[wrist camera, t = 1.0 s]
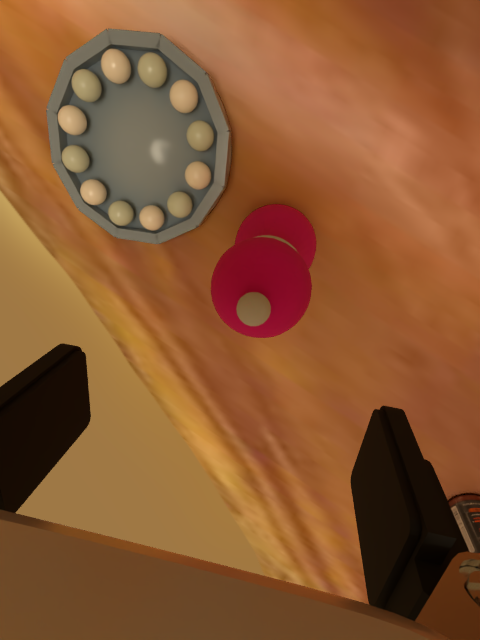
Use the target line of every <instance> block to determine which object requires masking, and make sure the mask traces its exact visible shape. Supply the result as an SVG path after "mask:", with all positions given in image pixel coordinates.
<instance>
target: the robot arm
mask: <svg viewBox="0 0 480 640" xmlns="http://www.w3.org/2000/svg"><path fill="white" fill-rule="evenodd" d="M90 417H91V414H90V402H89V391H88V377H87V365H86V355H85V353H84V352H82V350H81V348H80V347H78V346H73V345H67V344H60V345H58V346H56V347H55V348H54V349H52V350H51V351H49V352H48V353H47V354H45V355H44V356H42V357H41V358H40V359H38V360H37V361H36V362H34V363H33V364H32V365H30V366H29V367H27V368H26V369H24V370H23V371H22V372H21V373H19V374H18V375H16V376H15V377H13V378H12V379H11V380H9V381H8V382H7V383H5V384H4V385H2V386H1V387H0V640H480V554H478V553H472V552H470V551H469V549H468V547H467V544H466V542H465V540H464V537H463V535H462V533H461V531H460V528H459V526H458V524H457V521H456V519H455V517H454V514H453V512H452V510H451V507H450V505H449V503H448V501H447V498H446V496H445V494H444V491H443V489H442V487H441V484H440V482H439V480H438V478H437V475H436V473H435V471H434V468H433V466H432V465H431V463H430V462H429V461H428V460H424V458H423V456H422V453H421V451H420V449H419V446H418V444H417V441H416V439H415V436H414V434H413V432H412V429H411V427H410V424H409V422H408V420H407V417H406V415H405V412H404V411H403V410H402V409H398V408H393V407H388V406H382V407H381V408H380V410H378V409H375V410H374V411H373V413H372V416H371V419H370V422H369V425H368V428H367V431H366V433H365V436H364V439H363V442H362V445H361V448H360V451H359V454H358V456H357V459H356V462H355V465H354V468H353V471H352V474H351V489H352V495H353V502H354V509H355V515H356V522H357V529H358V535H359V542H360V549H361V555H362V562H363V568H364V575H365V582H366V588H367V595H368V601H369V604H370V605H368V604H365V603H362V602H359V601H355V600H351V599H348V598H344V597H341V596H337V595H333V594H330V593H326V592H323V591H319V590H315V589H312V588H308V587H305V586H301V585H297V584H293V583H290V582H286V581H282V580H278V579H274V578H270V577H266V576H262V575H259V574H255V573H251V572H247V571H243V570H239V569H235V568H231V567H228V566H224V565H220V564H216V563H212V562H208V561H204V560H200V559H196V558H193V557H189V556H184V555H180V554H176V553H173V552H169V551H165V550H161V549H157V548H153V547H149V546H145V545H141V544H137V543H133V542H129V541H125V540H121V539H117V538H113V537H109V536H105V535H101V534H97V533H93V532H89V531H85V530H81V529H77V528H73V527H69V526H65V525H61V524H57V523H52V522H49V521H44V520H40V519H36V518H32V517H28V516H24V515H20V514H16V513H15V512H16V511H17V510H18V509H19V508H20V507H21V505H22V504H23V503H24V502H25V501H26V500H27V498H28V497H29V496H30V495H31V494H32V492H33V491H34V490H35V489H36V488H37V486H38V485H39V484H40V483H41V482H42V480H43V479H44V478H45V477H46V475H47V474H48V473H49V472H50V471H51V470H52V468H53V467H54V466H55V465H56V464H57V462H58V461H59V460H60V459H61V458H62V456H63V455H64V454H65V453H66V452H67V450H68V449H69V448H70V447H71V446H72V444H73V443H74V442H75V441H76V440H77V438H78V437H79V436H80V435H81V433H82V432H83V431H84V430H85V428H86V427H87V426H88V424H89V422H90Z"/></svg>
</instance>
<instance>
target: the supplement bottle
mask: <svg viewBox="0 0 480 640" xmlns="http://www.w3.org/2000/svg"><path fill="white" fill-rule="evenodd" d="M448 503H449V505H450V507H451V510H452V512H453V514H454V517H455V519H456V521H457V524H458V526H459V528H460V531H461V533H462V535H463V537H464V540H465V542H466V544H467V547H468V549H469V551H470V552H472V553H478V554H480V496H477V495H462V496H458V497H456V498H454V499H452V500H451V501H449V502H448Z"/></svg>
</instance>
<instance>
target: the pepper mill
mask: <svg viewBox="0 0 480 640" xmlns="http://www.w3.org/2000/svg"><path fill="white" fill-rule="evenodd" d="M315 251H316V236H315V233H314V230H313V227H312V225H311V224H310V222H309V221H308V219H307V218H306V217H305V216H304V215H303V214H302V213H301V212H299V211H298V210H296V209H294V208H292V207H289V206H286V205H281V204H272V205H266V206H263V207H260V208H258V209H257V210H255V211H253V212H252V213H251V214H250V215H248V216H247V217H246V219H245V220H244V221H243V222H242V224H241V226H240V228H239V230H238V233H237V236H236V240H235V245H234V246H232V247H231V248H229V249H228V250H227V251H226V252H225V253H224V254H223V255H222V256H221V258H220V260H219V261H218V263H217V265H216V267H215V270H214V272H213V276H212V281H211V295H212V301H213V304H214V306H215V309H216V311H217V313H218V314H219V316H220V318H221V319H222V320H223V321H224V322H225V323H226V324H227V325H228V326H229V327H230V328H232V329H234V330H235V331H237V332H239V333H241V334H243V335H246V336H250V337H258V338H267V337H274V336H277V335H280V334H282V333H284V332H285V331H287V330H289V329H290V328H292V327H293V326H294V325H295V324H296V323H297V322H298V321H299V320H300V319H301V317H302V316H303V315H304V313H305V311H306V309H307V307H308V305H309V301H310V297H311V289H312V283H311V277H310V273H309V270H308V269H309V268H310V266H311V264H312V262H313V259H314V256H315Z"/></svg>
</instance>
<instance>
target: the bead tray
mask: <svg viewBox="0 0 480 640" xmlns="http://www.w3.org/2000/svg"><path fill="white" fill-rule="evenodd" d="M66 59H67V60H66ZM66 59H64V62H63V65H62V67H61V70H60V73H59V75H58V78H57V81H56V83H55V86H54V89H53V92H52V94H51V97H50V100H49V102H48V105H47V109H48V110H46V112H47V121H48V130H49V140H50V149H51V158H52V163H54V164H53V166H54V168H55V170H56V171H57V173H58V175H59V177H60V179H61V180H62V182H63V184H64V186H65V187H66V189H67V191H68V193H69V195H70V196H71V198H72V200H73V202H74V203H75V205H76V207H77V208H79V211H81V212H82V213H83V214H85V215H86V216H87V217H89V218H90V219H91V220H93V221H94V222H95V223H97V224H98V225H99V226H101V227H102V228H103V229H105V230H106V231H107V232H109V233H110V234H111V235H113V236H114V237H116V238H121V239H127V240H134V241H140V242H146V243H153V244H160V243H163V242H165V241H167V240H169V239H172V238H174V237H176V236H179V235H181V234H183V233H186V232H188V231H190V230H192V229H195V228H197V227H199V226H200V225H201V224H202V223H203V221H204V220H205V218H206V217H207V216H208V215H209V214H210V212H211V211H212V210H213V209H214V207H215V206H216V205H217V203H218V201H219V199H220V198H221V196H222V194H223V192H224V190H225V188H226V186H227V181H228V177H229V174H230V168H231V162H232V138H231V136H232V133H231V128H230V125H229V120H228V117H227V114H226V110H225V107H224V105H223V103H222V100H221V98H220V96H219V94H218V92H217V90H216V89H215V87H214V84H213V81H212V79H211V77H210V75H209V74H208V73H207V72H205V71H204V70H203V69H202V68H201V67H200V66H198V65H197V64H196V63H195V62H194V61H193V60H191V59H190V58H189V57H188V56H187V55H186V54H184V53H183V52H182V51H181V50H180V49H179V48H177V47H176V46H175V45H174V44H173V43H172V42H170V41H169V40H168V39H167V38H166V37H165V36H163V35H162V34H160V33H151V32H140V31H129V30H118V29H108V30H107V29H106V30H104V31H103V32H101V33H100V34H99V35H97V36H96V37H94V38H93V39H91V40H90V41H89V42H87V43H86V44H84V45H83V46H81V47H80V48H79V49H77V50H76V51H74V52H73V53H71V54H70V55H69V56H67V57H66Z"/></svg>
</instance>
